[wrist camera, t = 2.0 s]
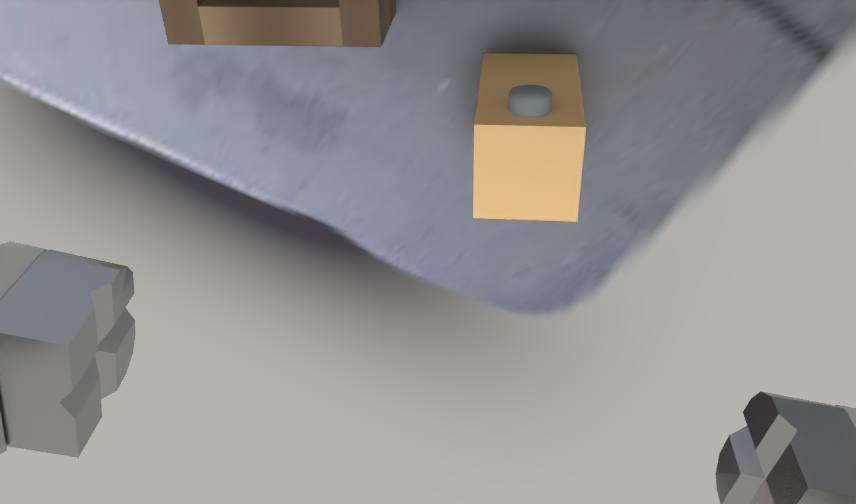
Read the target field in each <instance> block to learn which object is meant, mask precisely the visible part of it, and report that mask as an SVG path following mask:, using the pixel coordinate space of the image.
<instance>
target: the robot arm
mask: <svg viewBox="0 0 856 504" xmlns="http://www.w3.org/2000/svg"><path fill="white" fill-rule="evenodd" d="M133 294H134V282H133V272H132V271H131V270H130V269H129V268H128V267H127V266H123V265H118V264H114V263H109V262H105V261H100V260H95V259H91V258H86V257H82V256H77V255H73V254H68V253H63V252H59V251H55V250H46V249H43V248H38V247H33V246H29V245H24V244H20V243H15V242H7V243H4V244H1V245H0V454H1V453H3V452H5V451H6V449H7V447H6V446H10V447H16V448H22V449H28V450H35V451H41V452H47V453H53V454H60V455H66V456H72V457H79V456H80V454H81V452H82V450H83V449H84V447H85V445H86V444H87V442H88V440H89V438H90V437H91V435H92V433H93V431H94V430H95V428H96V426H97V424H98V423H99V421H100V419H101V418H102V411H101V410H102V409H101V399H102V398H104V397H106V396H108V395H110V394H112V393H113V392H115V391H117V389H118V387H119V386H120V384H121V382H122V380H123V378H124V376H125V375H126V372H127V369H128V366H129V363H130V360H131V356H132V354H133V347H134V340H135V320H134V318H133V317H132V316H131V315H130V313H129V312H128V311H127V309H126V308H125V307H126V305H127V304H128V302H129V300H130V299H131V297H132V296H133ZM743 414H744V417H745V420H746V423H747V426H746V427H744V428H742V429H741V430H739V431H737V432H735V433H733V434H731V435H729V437H728V438H727V440H726V442H725V444H724V446H723V448H722V450H721V452H720V454H719V459H718V464H717V470H716V483H717V484H716V485H717V492H718V496H719V500H720V504H856V408H850V407H845V406H840V405H835V406H833V405H829V404H824V403H819V402H813V401H808V400H803V399H797V398H792V397H787V396H781V395H777V394H771V393H766V392H759V393H758V394H756V395H755V396H754V397H753V398H751V400H750V401H749V403H748V405H747V406H746V408H745V409H744V411H743Z"/></svg>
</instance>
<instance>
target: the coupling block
mask: <svg viewBox="0 0 856 504" xmlns="http://www.w3.org/2000/svg"><path fill="white" fill-rule="evenodd" d="M585 135H586V121H585V113H584V105H583V97H582V89H581V82H580V74H579V66H578V58H577V54H508V53H483V61H482V69H481V76H480V84H479V91H478V99H477V106H476V114H475V122H474V203H473V218H490V219H511V220H513V221H516V222H520V223H531V222H535V221H538V220H548V221H576V222H577V218H578V208H579V197H580V187H581V177H582V166H583V156H584V146H585Z"/></svg>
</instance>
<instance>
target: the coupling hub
mask: <svg viewBox="0 0 856 504" xmlns="http://www.w3.org/2000/svg"><path fill="white" fill-rule="evenodd" d="M159 3H160V8H161V12H162V17H163V21H164V26H165V30H166V35H167V40H168V44H196V45H272V46H348V47H381V46H382V44H383V42H384V39H385V37H386V34H387V32H388V30H389V27H390V25H391V23H392V20H393V18H394V16H395V13H396V9H395V0H159Z"/></svg>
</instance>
